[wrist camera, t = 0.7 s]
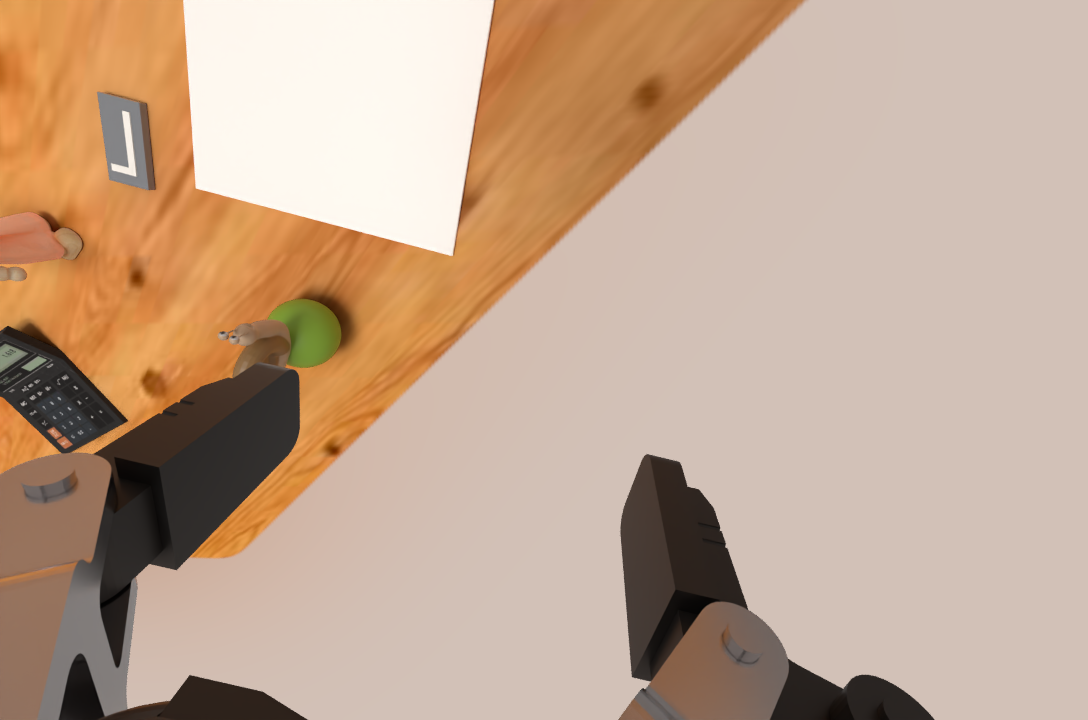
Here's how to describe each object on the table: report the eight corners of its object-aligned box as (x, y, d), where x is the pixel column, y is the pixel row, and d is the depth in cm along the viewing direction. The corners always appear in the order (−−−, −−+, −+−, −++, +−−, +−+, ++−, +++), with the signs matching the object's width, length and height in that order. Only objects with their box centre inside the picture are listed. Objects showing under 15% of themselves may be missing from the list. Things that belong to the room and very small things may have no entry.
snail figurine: (361, 294, 38) (271, 352, 28) (346, 360, 41) (259, 437, 30) (296, 269, 38) (179, 318, 27) (286, 337, 41) (175, 407, 30)
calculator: (72, 450, 49) (41, 468, 46) (-24, 357, 45) (-64, 371, 42) (132, 418, 46) (103, 435, 44) (35, 317, 42) (-3, 328, 40)
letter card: (105, 92, 34) (95, 91, 33) (146, 103, 34) (137, 102, 33) (116, 179, 36) (108, 180, 36) (155, 189, 36) (147, 190, 36)
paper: (179, -119, 29) (175, -121, 28) (499, -29, 29) (498, -31, 29) (198, 188, 36) (195, 188, 36) (453, 255, 36) (452, 255, 36)
